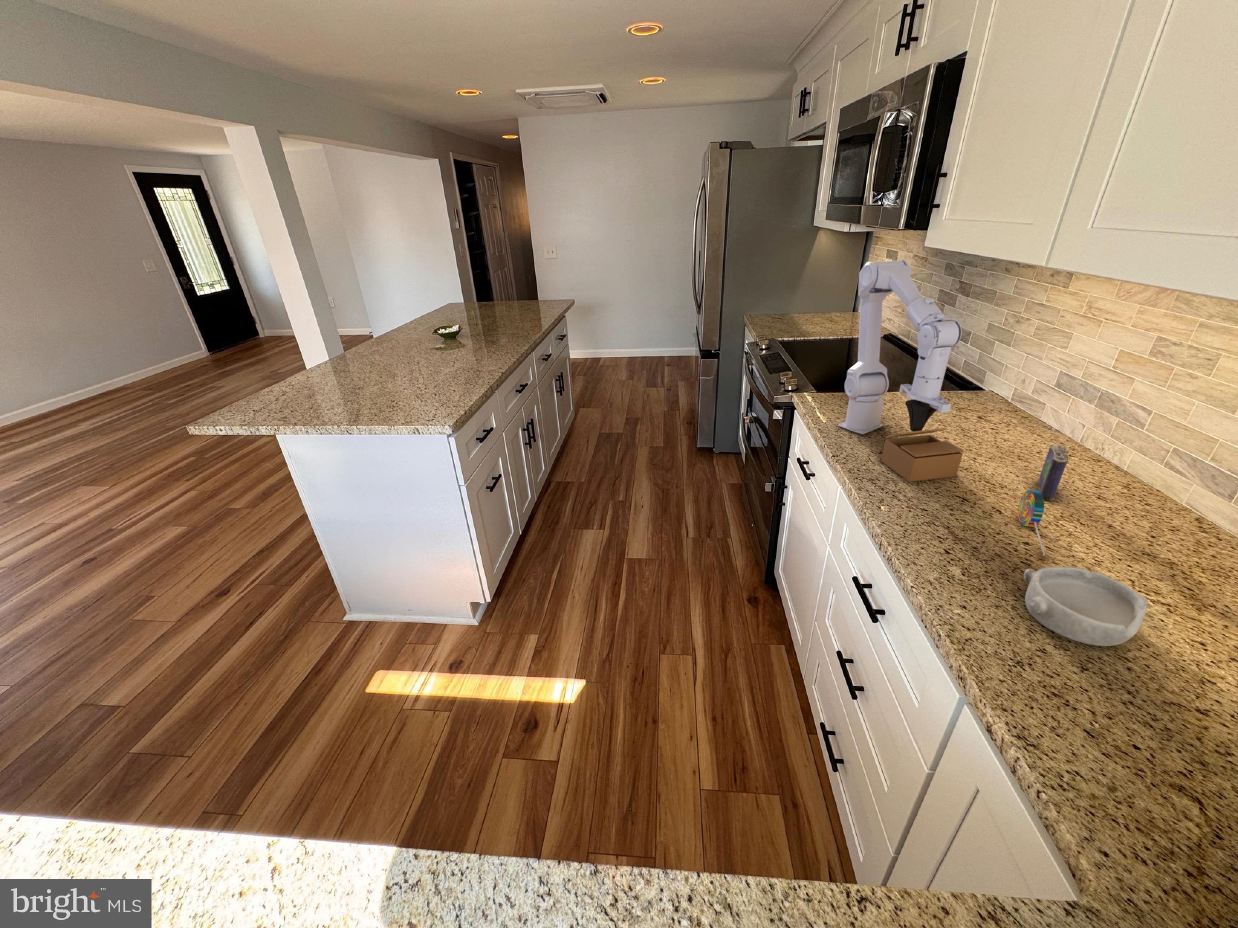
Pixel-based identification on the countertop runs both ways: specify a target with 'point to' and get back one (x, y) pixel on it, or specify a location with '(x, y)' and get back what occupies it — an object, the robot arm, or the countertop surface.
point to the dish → (1084, 605)
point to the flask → (1052, 471)
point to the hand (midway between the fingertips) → (915, 430)
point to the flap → (916, 432)
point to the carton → (921, 457)
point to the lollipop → (1031, 510)
